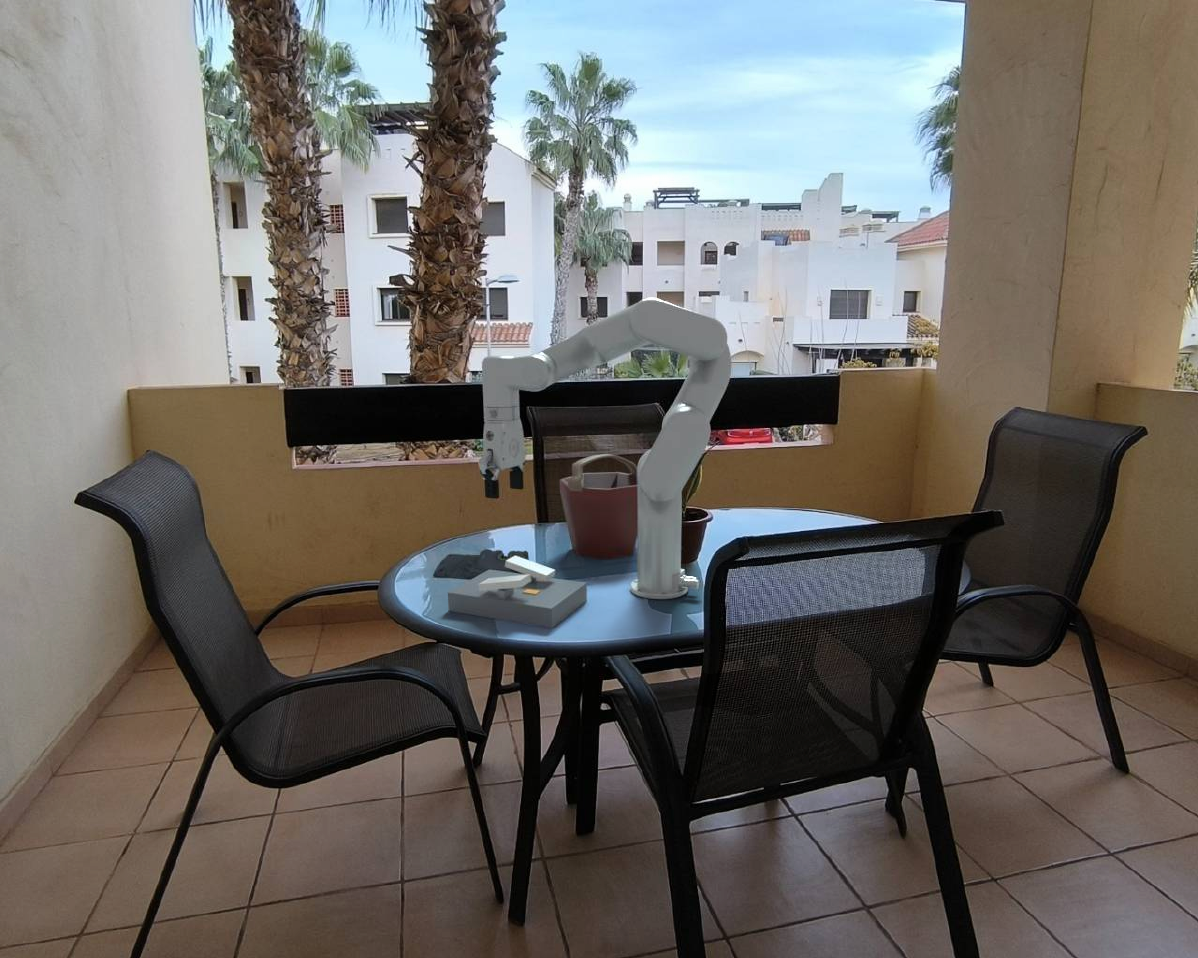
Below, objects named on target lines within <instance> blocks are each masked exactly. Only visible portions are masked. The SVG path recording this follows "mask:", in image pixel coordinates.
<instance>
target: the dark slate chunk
mask: <svg viewBox="0 0 1198 958" xmlns="http://www.w3.org/2000/svg"><path fill="white" fill-rule="evenodd" d="M513 556H518V557H521V558H524V559H526V560H529V561H530V559H529V552H528V551H527V550H524V551H521V550H510V551H509V552H508V553H507V555H505V553H504V552H503V550H501V549H498V550H497V549H496V550H493V549H487V548H485V549H483V550H482V551H480V553H479V554H461V553H460V554H459V553H448V554H447V555H446V556H445V557H444V558H443V559H442V560H441V561H440V562H438V565H436V568H435V570H434V572H433V578H435V577H436V578H437V579H438V578H439V579H453V580H454V579H455V580H456V579H458V580H471V579H473V578H475V577H477V576H478V575H480V574H482V573H484V572H486V571H488V570H489V569H490V570H497V571H504V572H511V573H519V574H523V573H521V572H518V571H515V570H513V569H510V568H507V567H505V563H506V560H508V559H510V558H512V557H513Z"/></svg>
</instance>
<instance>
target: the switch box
mask: <svg viewBox="0 0 1198 958" xmlns="http://www.w3.org/2000/svg"><path fill="white" fill-rule="evenodd" d="M518 575H526V574H519V573H511V572H504V571H497V570H490V569H489V570H488V571H486V572H484V573H482V574H480V575H478V576H477V577H475V578H473V579H468V580H467V581H466V582H464V583H462V584H460V585H458V586H457V587H455V588H453V589H451V590H450V591H448V592H447V598H448V599H447V602H448V603H447V604H448V611H449V612H455V613H460V614H466V615H472V616H478V617H483V618H491V619H496V620H501V621H507V622H512V623H513V622H514V623H519V624H526V625H531V626H536V627H537V626H538V627H544V628H549V629H553V628H555V627H556V626H557V625H558V624H559V623H561V622H562V621H563V620H564V619H566V618H567V617H569V615H571V614H572V613H574V612H575V611H576V610H577V609H578V608H579V607H581V606H582V605H584V604H585V603H586V602H587V600H588V598H587V597H588V596H587V595H588V594H587V593H588V591H587V590H588V589H587V586H588V585H587V582H585V581H583V582H582V581H576V580H569V579H561V578H554V577H552V578H550V579H549V580H547V581H546V582H545V581H542V580H540V579H537V578H534V577H532V576H530V577H531V582H529V583H527V584H526V585H524V586H523V587H519V588H507V589H495V590H484V591H480V590H479V586H478V584H479V583H481V582H483V581H485V580H487V579H488V578H496V577H507V576H518Z"/></svg>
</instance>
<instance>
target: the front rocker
mask: <svg viewBox="0 0 1198 958" xmlns="http://www.w3.org/2000/svg"><path fill="white" fill-rule="evenodd" d="M529 582H531V577H530V574H528V575H518V576H507V577H496V578H488V579H487V580H485V581H483V582H481V583H479V584H478V586H479V590H480V591H484V590H495V589H507V588H519V587H523V586H524V585H526V584H527V583H529Z"/></svg>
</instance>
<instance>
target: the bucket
mask: <svg viewBox="0 0 1198 958" xmlns="http://www.w3.org/2000/svg"><path fill="white" fill-rule="evenodd" d="M606 458H611V459H614V460H617V461H619V462H621V463H623V464H625V465H626V467H627V468H628V469H629V471H630V473H626V472H620V471H615V472H612V471H611V472H584V467H585V466H586V465H588V464H590V463H593V462H594V461H597V460H600V459H606ZM637 466H638V465H636V464H635V463H634V462H633V461H630V460H628V459H627V458H624V457H622V456H619V455H615V454H610V453H609V454H608V453H605V454H603V453H602V454H596V455H595V454H594V455H590V456H587V457H584V458H581V459H578V460H577V461H575V462H573V463H572V464H571V476H568V477H564V478H561V479H559V493H560V498H561V503H562V507H563V511H564V516H565V517H564V518H565V522H566V526H567V531H568V536H569V540H570V541H569V542H570V545H571V549H572V550H573V551H574V552H575V553H576V554H577V555H578V556H579V557H580V558H589V559H598V560H606V561H607V560H613V559H617V558H618V559H619V558H623V557H629V556H633V555H634V553H635V549H636V547H637V521H638V514H637V512H638V506H637ZM635 546H636V547H635Z"/></svg>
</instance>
